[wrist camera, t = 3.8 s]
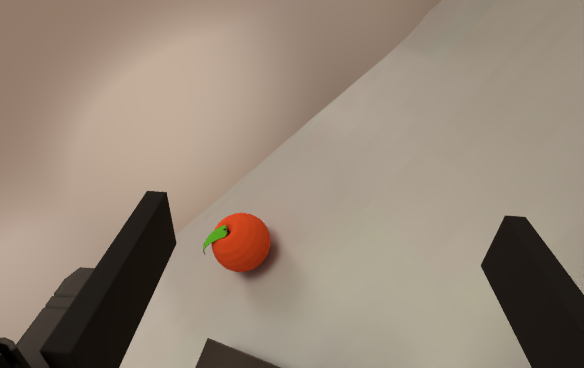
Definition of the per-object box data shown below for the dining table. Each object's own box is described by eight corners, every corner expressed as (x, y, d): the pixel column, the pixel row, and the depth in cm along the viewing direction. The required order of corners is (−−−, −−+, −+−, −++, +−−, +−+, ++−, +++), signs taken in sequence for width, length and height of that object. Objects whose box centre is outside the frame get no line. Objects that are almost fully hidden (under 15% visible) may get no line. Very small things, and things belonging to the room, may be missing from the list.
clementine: (229, 293, 44) (192, 273, 38) (222, 246, 48) (188, 222, 43) (286, 265, 42) (256, 240, 37) (273, 219, 47) (245, 191, 42)
